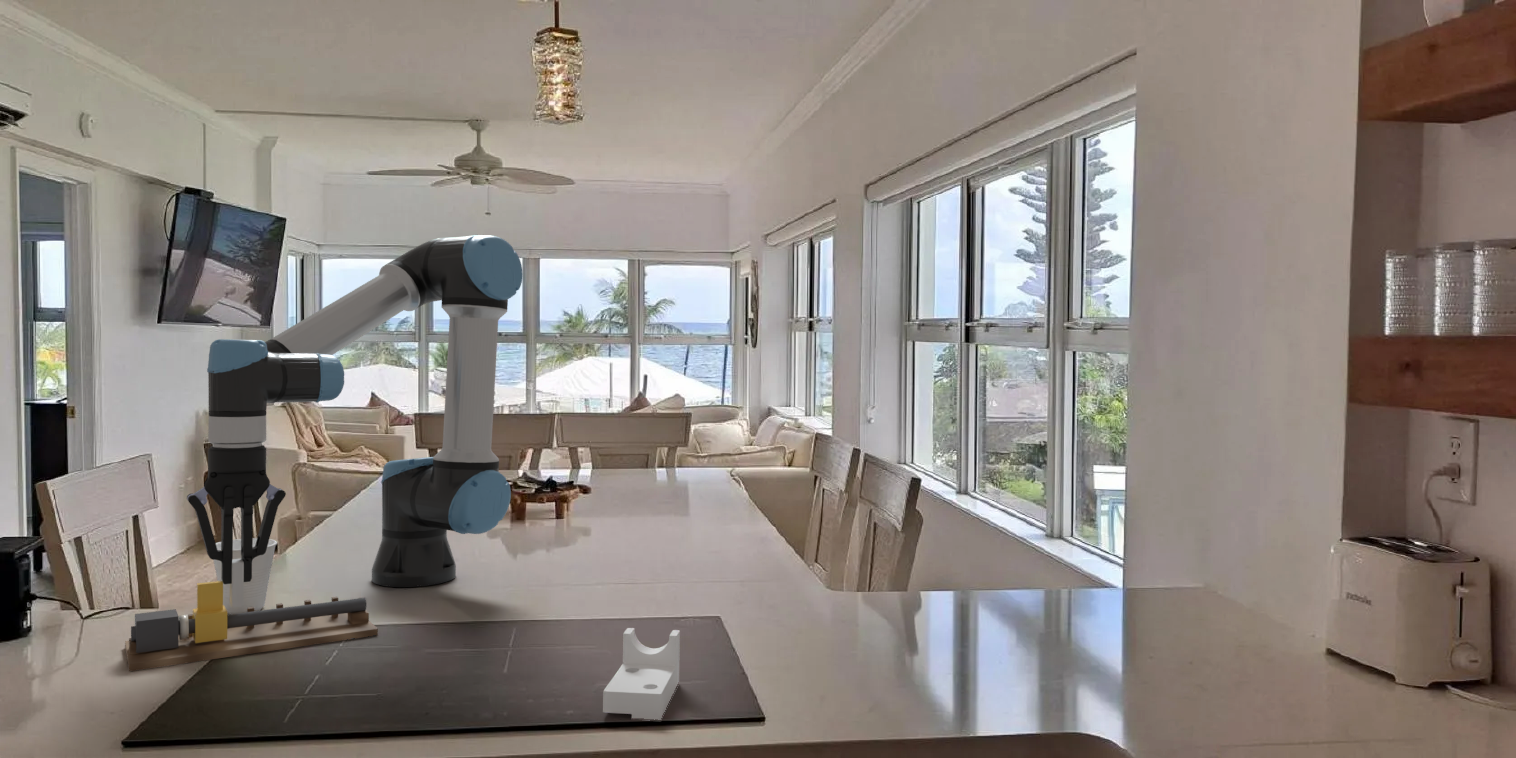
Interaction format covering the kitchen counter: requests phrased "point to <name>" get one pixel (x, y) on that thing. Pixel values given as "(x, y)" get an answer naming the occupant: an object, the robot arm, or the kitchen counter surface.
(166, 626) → the connector
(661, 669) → the bracket
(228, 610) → the cup
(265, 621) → the cord
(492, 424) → the robot arm
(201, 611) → the sleeve
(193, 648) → the comb board
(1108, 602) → the kitchen counter surface
